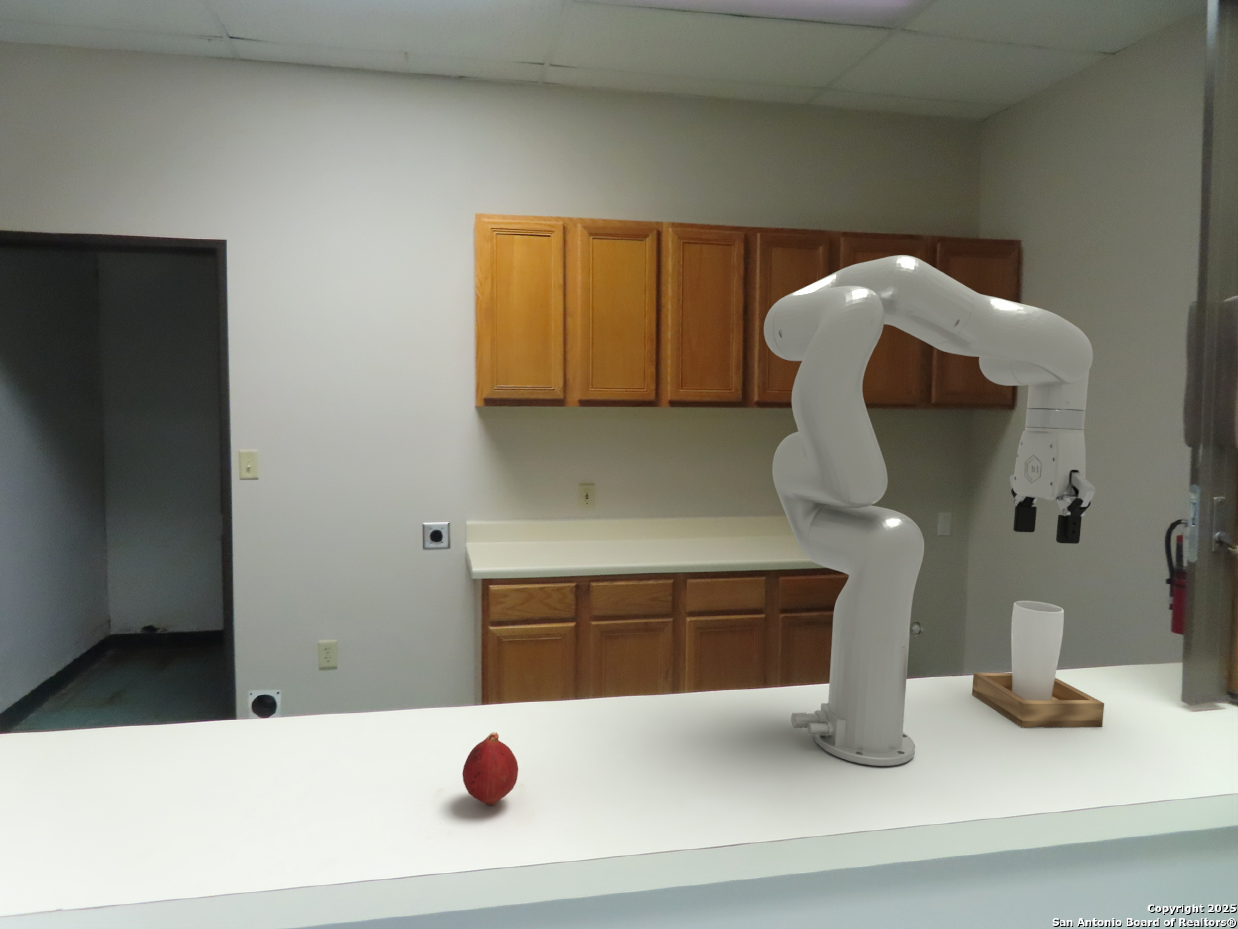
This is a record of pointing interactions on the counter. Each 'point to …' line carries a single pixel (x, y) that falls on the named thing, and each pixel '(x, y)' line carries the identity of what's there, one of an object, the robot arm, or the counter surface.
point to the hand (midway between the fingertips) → (1044, 537)
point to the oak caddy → (1038, 703)
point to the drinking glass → (1035, 648)
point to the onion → (490, 770)
